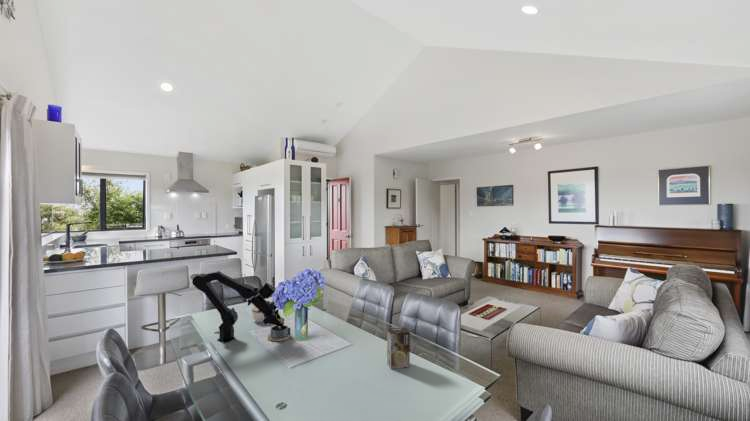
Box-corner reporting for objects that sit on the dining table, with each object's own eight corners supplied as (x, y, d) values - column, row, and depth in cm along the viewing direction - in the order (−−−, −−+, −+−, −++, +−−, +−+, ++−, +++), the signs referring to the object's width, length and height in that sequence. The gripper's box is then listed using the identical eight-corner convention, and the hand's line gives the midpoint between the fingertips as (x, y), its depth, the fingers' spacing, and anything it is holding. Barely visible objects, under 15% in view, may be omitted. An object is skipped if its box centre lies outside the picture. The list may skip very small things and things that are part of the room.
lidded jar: (266, 323, 195) (266, 308, 195) (248, 323, 195) (249, 308, 195) (272, 318, 206) (272, 303, 206) (255, 317, 206) (256, 302, 206)
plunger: (279, 338, 171) (280, 322, 171) (270, 336, 174) (270, 320, 174) (288, 334, 177) (288, 318, 177) (279, 332, 180) (279, 316, 180)
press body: (280, 343, 168) (280, 333, 168) (262, 338, 173) (263, 329, 173) (295, 335, 178) (295, 326, 178) (278, 331, 184) (278, 322, 184)
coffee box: (404, 360, 151) (405, 327, 151) (409, 367, 145) (410, 332, 145) (386, 363, 149) (387, 328, 149) (390, 369, 143) (391, 333, 143)
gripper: (270, 298, 166) (291, 319, 168) (275, 289, 184) (294, 308, 186) (253, 314, 164) (275, 334, 166) (260, 303, 183) (280, 322, 185)
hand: (282, 324), depth 176 cm, fingers closed on plunger, 5 cm apart
